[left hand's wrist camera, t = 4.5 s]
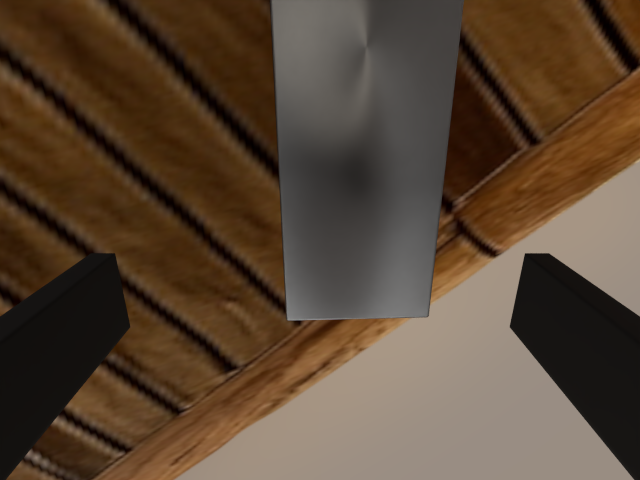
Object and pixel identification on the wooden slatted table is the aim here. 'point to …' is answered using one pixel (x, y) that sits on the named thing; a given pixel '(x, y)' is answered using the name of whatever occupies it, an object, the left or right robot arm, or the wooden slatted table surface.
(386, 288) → the box
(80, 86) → the wooden slatted table surface
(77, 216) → the wooden slatted table surface
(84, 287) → the left robot arm
